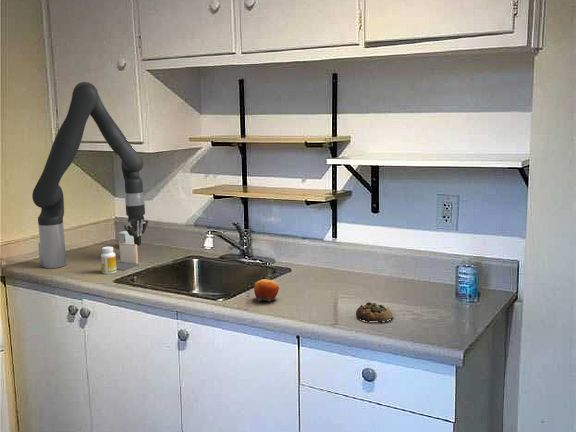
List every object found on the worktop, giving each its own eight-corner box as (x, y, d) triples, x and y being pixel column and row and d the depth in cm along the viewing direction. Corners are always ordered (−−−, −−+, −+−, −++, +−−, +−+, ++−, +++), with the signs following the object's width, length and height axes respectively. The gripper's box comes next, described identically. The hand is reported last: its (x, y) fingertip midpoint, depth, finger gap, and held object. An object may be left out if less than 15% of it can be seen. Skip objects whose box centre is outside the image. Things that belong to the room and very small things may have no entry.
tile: (120, 262, 253) (118, 243, 252) (122, 262, 255) (120, 242, 253) (136, 264, 250) (134, 245, 249) (138, 263, 251) (136, 244, 250)
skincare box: (119, 248, 280) (117, 231, 278) (131, 245, 284) (130, 229, 282) (126, 250, 275) (124, 233, 274) (138, 247, 279) (137, 231, 278)
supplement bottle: (118, 270, 242) (117, 245, 240) (113, 274, 236) (111, 249, 235) (105, 270, 242) (103, 245, 240) (99, 274, 237) (98, 249, 235)
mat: (101, 268, 246) (101, 267, 246) (116, 262, 254) (116, 261, 254) (123, 270, 241) (123, 269, 241) (138, 264, 249) (138, 263, 249)
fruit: (250, 300, 197) (252, 276, 200) (255, 306, 204) (256, 282, 207) (276, 301, 196) (277, 276, 199) (279, 307, 203) (281, 283, 206)
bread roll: (348, 319, 183) (350, 302, 183) (366, 313, 192) (367, 297, 192) (382, 327, 177) (384, 310, 177) (399, 321, 186) (401, 305, 186)
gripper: (137, 200, 261) (140, 241, 264) (116, 205, 249) (119, 248, 252) (152, 201, 258) (155, 242, 261) (131, 206, 246) (134, 249, 249)
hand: (137, 245), depth 256 cm, fingers closed
